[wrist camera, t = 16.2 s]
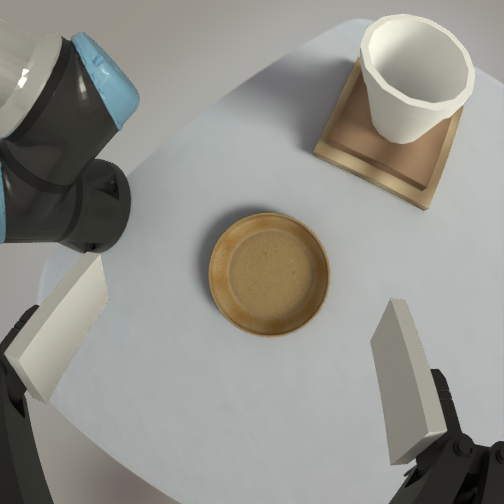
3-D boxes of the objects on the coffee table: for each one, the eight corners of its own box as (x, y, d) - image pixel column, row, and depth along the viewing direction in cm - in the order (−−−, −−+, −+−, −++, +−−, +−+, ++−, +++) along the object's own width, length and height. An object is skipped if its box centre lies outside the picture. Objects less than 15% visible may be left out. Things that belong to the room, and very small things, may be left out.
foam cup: (417, 77, 29) (440, 10, 17) (448, 146, 29) (494, 100, 16) (345, 92, 32) (341, 24, 19) (373, 165, 31) (390, 120, 19)
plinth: (314, 156, 38) (311, 145, 33) (357, 64, 35) (358, 46, 31) (424, 210, 34) (434, 206, 30) (458, 112, 32) (469, 98, 28)
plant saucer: (196, 253, 42) (187, 254, 40) (290, 191, 39) (286, 188, 36) (252, 350, 41) (246, 357, 38) (353, 295, 37) (353, 298, 34)
